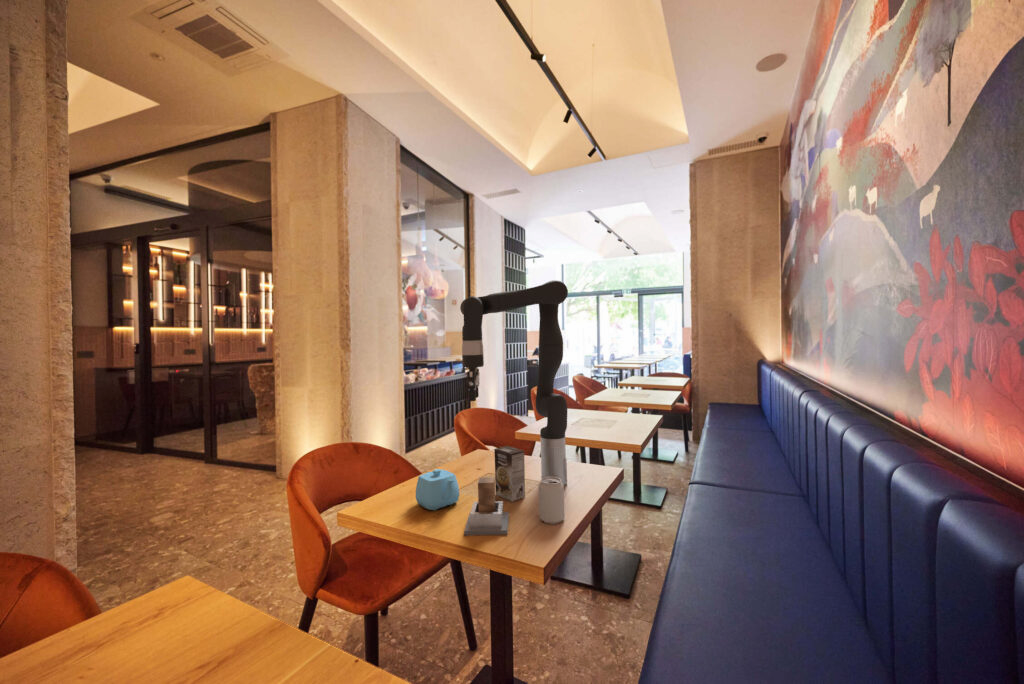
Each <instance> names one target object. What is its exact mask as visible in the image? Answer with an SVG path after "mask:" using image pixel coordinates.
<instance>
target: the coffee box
mask: <svg viewBox="0 0 1024 684" xmlns="http://www.w3.org/2000/svg"><path fill="white" fill-rule="evenodd" d="M493 451H494V474H495V475H494V477H495V496H498V497H500V496H501V498H503V499H506V500H508V501H509V500H510V501H509V502H515V501H517V499H518V500H521V499H524V498H525V497H526V483H525V482H526V477H525V476H526V475H525V473H526V472H525V470H526V469H525V450H524V449H519V448H516V447H513V446H510V445H506V446H501V447H497V448H494V449H493ZM520 498H521V499H520ZM514 500H515V501H514Z"/></svg>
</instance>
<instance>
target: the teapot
mask: <svg viewBox="0 0 1024 684" xmlns="http://www.w3.org/2000/svg"><path fill="white" fill-rule="evenodd" d="M459 498H460V488H459V483H458V479H457V477H456V474H455V473H453V472H451V471H449V470H446V469H440V468H435V469H433V470H432V471H427V472H426V473H423V474H421V475H418V478H417V483H416V488H415V499H416V502H417V504H418V505H419V506H421V507H423V508H425V509H427V510H430V511H438V510H439V509H440V508H441V509H442V508H444V507H447V505H450V506H452V505H453V504H455V503H457V502H458V501H459ZM451 504H452V505H451ZM437 509H438V510H437Z"/></svg>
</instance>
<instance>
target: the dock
mask: <svg viewBox="0 0 1024 684" xmlns="http://www.w3.org/2000/svg"><path fill="white" fill-rule="evenodd" d="M495 507H496V512H479V505H478V501H473V503H472V506H471V509H470V512H469V514H468V516H467V517H468V518H467V520H466V524H465V528H464V531H463V532H464V533H463V534H464V536H500V535H501V536H505V535H506V536H507V535H508V534H509V533H508V532H509V519H510V513H509V511H504V501H503V500H497V501H496V500H495Z"/></svg>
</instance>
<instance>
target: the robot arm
mask: <svg viewBox="0 0 1024 684" xmlns="http://www.w3.org/2000/svg"><path fill="white" fill-rule="evenodd" d="M568 294H569V290H568V287H567V285H566V284H565V283H564V282H563V281H561V280H557V279H554V280H549V281H547V282H545V283H543V284H541V285H540V284H539V285H537V286H534V287H528V288H524V289H514V290H508V291H500V292H493V293H490V294H488V295H483V296H468V297H466V298H465V299H463V300H462V302H461V304H460V306H459V307H460V308H459V309H460V310H459V311H460V312H461V313H462V315H463V326H462V331H461V334H462V344H461V356H462V357H461V359H462V361H461V363H462V365H461V366H462V367H463V368H466V369H467V368H468V371H467V372H466V374H467V375H466V377H467V380H466V381H467V389H468V399H469V400H468V401H470V402H476V400H477V398H479V397H480V396H479V393H480V392H479V386H480V368H482V367H484V365H485V364H484V362H485V361H484V357H485V356H484V344H483V343H484V342H483V330H482V329H483V317H484V315H487V314H498V313H503V312H509V311H513V310H517V309H520V308H524V307H529V306H533V305H538V308H539V309H538V311H539V328H538V329H539V330H538V365H537V366H538V367H537V368H538V369H537V370H538V371H537V373H538V374H537V385H536V386H537V387H536V391H535V392H536V394H535V410H536V412H537V414H538V415H539V416H540V417H543V418H547V422H546V426H544V427H542V428H541V429H540V435H539V436H540V437H539V438H540V466H541V467H540V470H541V471H540V472H541V475H540V476H541V479H542V478H544V477H557V478H560V479H561V482H562V483H563V485H564V486H568V469H567V467H568V466H567V465H568V464H567V463H568V462H567V457H566V455H567V454H566V451H567V450H566V449H567V448H566V431H567V428H568V403H567V400H566V398H565V397H564V395H562V394H557V393H554V386H555V385H554V383H555V378H556V375H557V373H558V372H559V369H560V367H561V365H562V361H563V358H564V338H563V333H562V331H561V327H560V323H559V306H560V304H562V303H563V302H565V300H567V298H568Z"/></svg>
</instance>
